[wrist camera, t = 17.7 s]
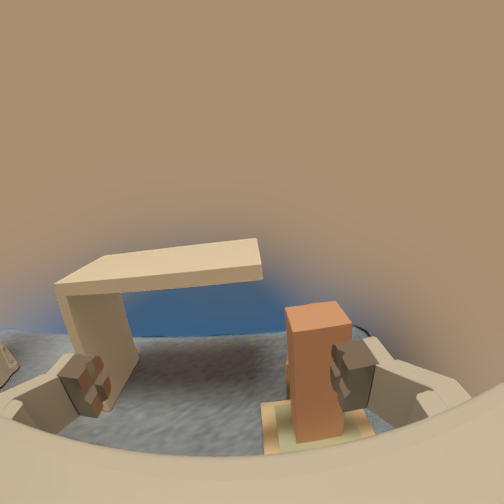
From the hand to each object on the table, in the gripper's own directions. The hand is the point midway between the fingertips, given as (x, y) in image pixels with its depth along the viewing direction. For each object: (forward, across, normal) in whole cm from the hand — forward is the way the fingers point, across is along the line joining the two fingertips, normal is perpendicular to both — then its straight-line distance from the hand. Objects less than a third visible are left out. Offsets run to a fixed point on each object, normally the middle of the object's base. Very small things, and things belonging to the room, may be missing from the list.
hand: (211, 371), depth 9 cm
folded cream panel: (+25, +9, +21) cm, 33 cm away
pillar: (+12, -7, +18) cm, 22 cm away
